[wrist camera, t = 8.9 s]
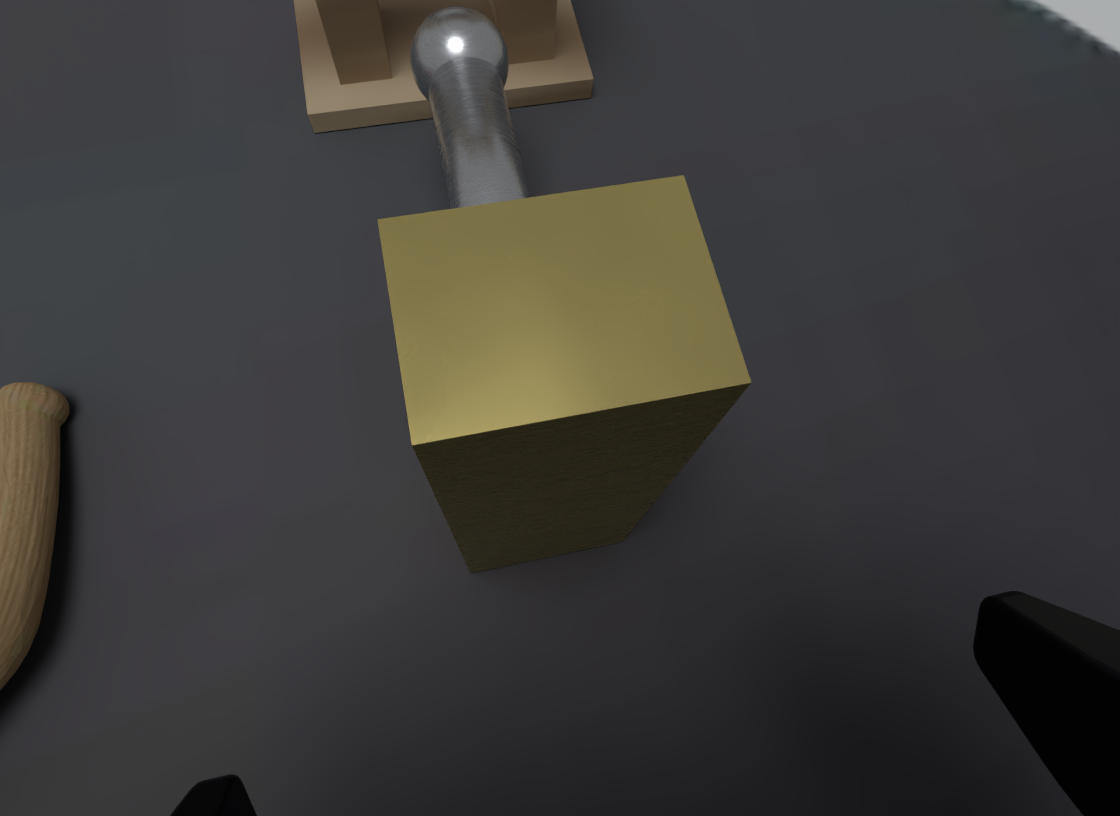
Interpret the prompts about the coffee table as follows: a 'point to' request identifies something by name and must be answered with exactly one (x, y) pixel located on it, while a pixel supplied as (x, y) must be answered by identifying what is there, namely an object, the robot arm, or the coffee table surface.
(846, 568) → the coffee table surface
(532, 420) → the olive block with rod
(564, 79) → the eye post
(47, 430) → the smoking pipe
